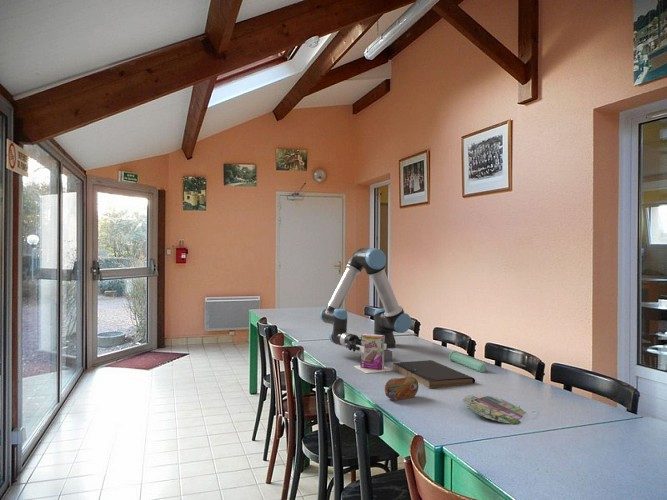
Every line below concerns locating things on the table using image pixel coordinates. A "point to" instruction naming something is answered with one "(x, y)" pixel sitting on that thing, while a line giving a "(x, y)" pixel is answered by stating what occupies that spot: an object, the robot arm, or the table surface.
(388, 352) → the button housing
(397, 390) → the tin
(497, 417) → the city model
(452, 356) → the container
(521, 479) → the table surface
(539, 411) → the table surface
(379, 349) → the candy bar box
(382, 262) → the robot arm
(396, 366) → the dark brown book
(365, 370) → the paper sheet
